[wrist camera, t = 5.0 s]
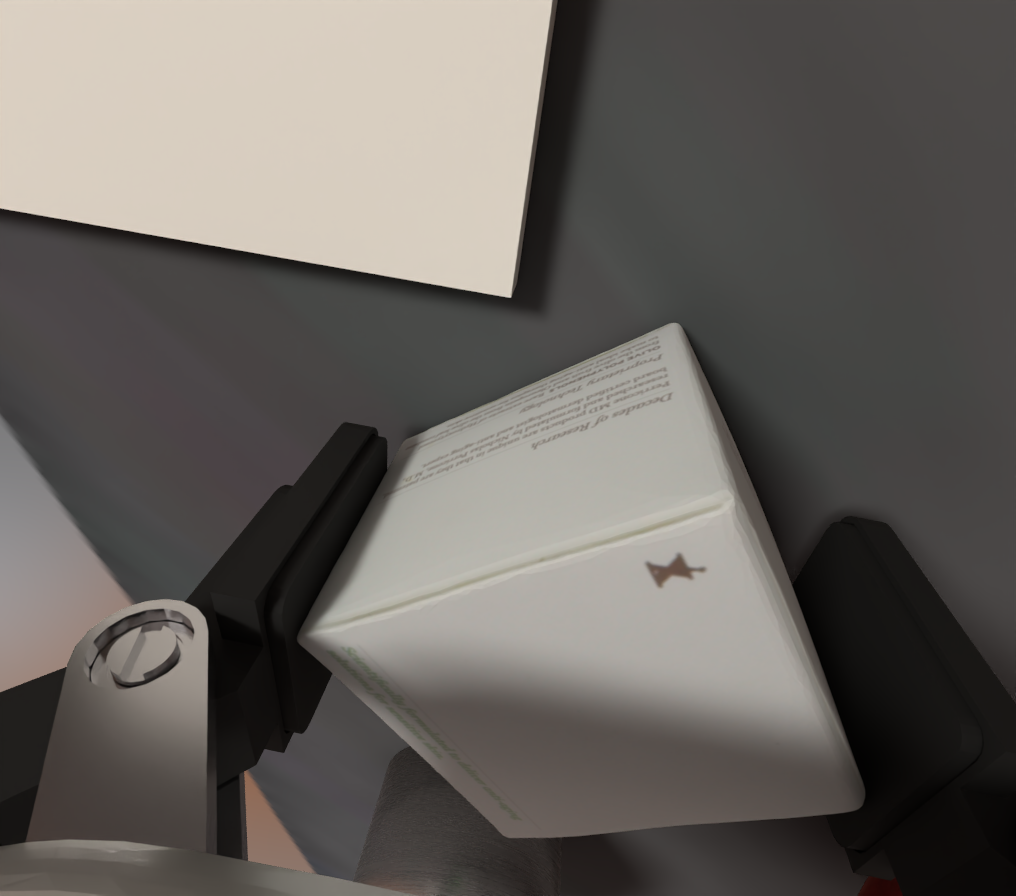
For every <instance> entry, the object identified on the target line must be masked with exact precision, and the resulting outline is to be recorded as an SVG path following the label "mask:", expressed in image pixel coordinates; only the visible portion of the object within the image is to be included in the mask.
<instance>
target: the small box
mask: <svg viewBox="0 0 1016 896" xmlns="http://www.w3.org/2000/svg"><path fill="white" fill-rule="evenodd" d="M297 641H298V643H299V644H300V645H301V646H302V647H303V648H305V649H306V650H307V651H308V652H309V653H310V654H312V655H313V656H314V657H315V658H316V659H317V660H318V661H320V662H321V663H322V664H323V665H324V666H325V667H326V668H327V669H329V670H330V671H331V672H332V673H333V674H334V675H335V676H336V677H337V678H338V679H339V680H340V681H341V682H342V683H344V684H345V685H346V686H347V687H348V688H349V689H350V690H351V691H352V692H353V693H354V694H355V695H356V696H358V697H359V698H360V699H361V700H362V701H363V702H364V703H365V704H366V705H367V706H368V707H369V708H370V709H372V710H373V711H374V712H375V713H376V714H377V715H378V716H379V717H380V718H381V719H382V720H383V721H384V722H385V723H386V724H387V725H388V726H390V727H391V728H392V729H393V730H394V731H395V732H396V733H397V734H398V735H399V736H400V737H401V738H402V739H404V740H405V741H406V742H407V743H408V744H409V745H410V746H411V747H412V748H413V749H414V750H415V751H416V752H417V753H418V754H419V755H420V756H421V757H422V758H424V759H425V760H426V761H427V762H428V763H429V764H430V765H431V766H432V767H433V768H434V769H435V770H436V771H437V772H438V773H439V774H441V775H442V776H443V777H444V778H445V779H446V780H447V781H448V782H449V783H450V784H451V785H452V786H453V787H454V788H455V789H456V790H457V791H458V792H459V793H460V794H461V795H462V796H463V797H465V798H466V799H467V800H468V801H469V802H470V803H471V804H472V805H473V806H474V807H475V808H476V809H477V810H478V811H479V812H480V813H481V814H482V815H483V816H484V817H485V818H486V819H487V820H488V821H489V822H491V823H492V824H493V825H494V826H495V827H496V829H497V830H498V831H499V832H500V833H501V834H502V835H503V836H505V837H507V838H554V837H571V836H585V835H595V834H605V833H613V832H623V831H630V830H638V829H648V828H659V827H669V826H680V825H693V824H708V823H724V822H739V821H753V820H767V819H784V818H796V817H807V816H817V815H827V814H837V813H845V812H851V811H854V810H857V809H859V808H860V807H861V806H863V803H864V799H865V787H864V784H863V781H862V778H861V775H860V773H859V770H858V767H857V765H856V762H855V759H854V756H853V754H852V751H851V748H850V745H849V742H848V739H847V736H846V734H845V731H844V728H843V725H842V722H841V719H840V716H839V714H838V711H837V708H836V705H835V702H834V699H833V697H832V694H831V691H830V688H829V685H828V683H827V680H826V677H825V674H824V671H823V669H822V666H821V663H820V660H819V657H818V655H817V652H816V649H815V646H814V644H813V641H812V638H811V635H810V633H809V630H808V627H807V624H806V622H805V619H804V616H803V613H802V611H801V608H800V605H799V603H798V600H797V598H796V595H795V592H794V590H793V587H792V584H791V582H790V579H789V576H788V574H787V571H786V568H785V566H784V563H783V561H782V558H781V555H780V553H779V550H778V548H777V545H776V542H775V540H774V537H773V535H772V532H771V529H770V527H769V524H768V522H767V519H766V517H765V514H764V512H763V510H762V507H761V505H760V502H759V500H758V497H757V495H756V492H755V490H754V487H753V485H752V483H751V480H750V478H749V475H748V473H747V471H746V468H745V466H744V463H743V461H742V459H741V456H740V454H739V451H738V449H737V447H736V444H735V442H734V440H733V438H732V435H731V433H730V431H729V428H728V426H727V424H726V422H725V419H724V417H723V415H722V413H721V410H720V408H719V406H718V404H717V401H716V399H715V397H714V395H713V393H712V390H711V388H710V386H709V384H708V382H707V380H706V377H705V375H704V373H703V371H702V369H701V366H700V364H699V362H698V360H697V358H696V356H695V353H694V351H693V349H692V347H691V345H690V343H689V341H688V338H687V336H686V334H685V332H684V330H683V328H682V327H681V326H680V324H678V323H670V324H667V325H665V326H663V327H661V328H659V329H656V330H654V331H652V332H650V333H647V334H645V335H643V336H641V337H639V338H636V339H634V340H632V341H629V342H627V343H625V344H622V345H620V346H618V347H616V348H614V349H611V350H609V351H606V352H604V353H601V354H599V355H597V356H595V357H592V358H590V359H588V360H586V361H583V362H581V363H579V364H576V365H574V366H572V367H570V368H567V369H565V370H563V371H560V372H558V373H556V374H553V375H551V376H549V377H547V378H544V379H542V380H540V381H537V382H535V383H533V384H531V385H528V386H526V387H524V388H522V389H519V390H517V391H515V392H513V393H511V394H509V395H506V396H504V397H502V398H500V399H498V400H495V401H493V402H490V403H488V404H486V405H483V406H481V407H479V408H476V409H474V410H472V411H469V412H467V413H465V414H462V415H460V416H458V417H456V418H453V419H451V420H448V421H446V422H444V423H442V424H440V425H437V426H435V427H433V428H430V429H428V430H427V431H425V432H422V433H420V434H418V435H416V436H413V437H411V438H408V439H406V440H405V441H404V442H403V443H402V445H401V447H400V449H399V450H398V452H397V454H396V456H395V458H394V459H393V461H392V463H391V465H390V466H389V468H388V470H387V472H386V474H385V475H384V477H383V479H382V481H381V483H380V485H379V486H378V488H377V490H376V492H375V494H374V496H373V497H372V499H371V501H370V503H369V505H368V506H367V508H366V510H365V512H364V513H363V515H362V517H361V519H360V521H359V523H358V525H357V527H356V528H355V530H354V532H353V533H352V535H351V537H350V539H349V541H348V543H347V545H346V547H345V548H344V550H343V552H342V553H341V555H340V557H339V559H338V560H337V562H336V564H335V566H334V567H333V569H332V571H331V573H330V575H329V577H328V579H327V580H326V582H325V584H324V586H323V588H322V589H321V591H320V593H319V595H318V597H317V598H316V600H315V602H314V604H313V606H312V608H311V609H310V611H309V613H308V616H307V618H306V619H305V621H304V623H303V625H302V627H301V629H300V631H299V633H298V636H297Z"/></svg>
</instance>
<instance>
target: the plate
mask: <svg viewBox="0 0 1016 896" xmlns="http://www.w3.org/2000/svg"><path fill="white" fill-rule="evenodd" d="M557 2H558V0H0V208H1V209H7V210H13V211H18V212H24V213H30V214H35V215H41V216H47V217H52V218H58V219H64V220H69V221H75V222H81V223H87V224H92V225H98V226H104V227H109V228H115V229H121V230H126V231H132V232H138V233H144V234H149V235H155V236H161V237H166V238H172V239H178V240H183V241H189V242H195V243H201V244H206V245H212V246H218V247H223V248H229V249H235V250H240V251H246V252H252V253H258V254H263V255H269V256H275V257H280V258H286V259H292V260H297V261H303V262H309V263H314V264H320V265H326V266H332V267H337V268H343V269H349V270H354V271H360V272H366V273H371V274H377V275H383V276H389V277H394V278H400V279H406V280H411V281H417V282H423V283H428V284H434V285H440V286H446V287H451V288H457V289H463V290H468V291H474V292H480V293H485V294H491V295H497V296H503V297H508V298H511V297H512V294H513V292H514V289H515V287H516V284H517V280H518V273H519V266H520V259H521V252H522V245H523V238H524V231H525V224H526V217H527V210H528V203H529V196H530V189H531V182H532V175H533V168H534V162H535V155H536V148H537V141H538V134H539V127H540V120H541V113H542V106H543V99H544V92H545V85H546V78H547V71H548V64H549V57H550V50H551V43H552V36H553V29H554V23H555V16H556V9H557Z"/></svg>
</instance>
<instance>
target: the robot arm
mask: <svg viewBox="0 0 1016 896" xmlns="http://www.w3.org/2000/svg"><path fill="white" fill-rule="evenodd" d="M386 472H387V440H386V438H384V437H379V436H378V431H377V429H376V428H374V427H369V426H364V425H358V424H353V423H347V422H345V423H343V424H342V425H341V426H340V427H339V428H338V429H337V431H336V432H335V433H334V435H333V436H332V437H331V438H330V440H329V441H328V442H327V443H326V445H325V446H324V447H323V449H322V450H321V451H320V452H319V454H318V455H317V456H316V458H315V459H314V460H313V461H312V463H311V464H310V465H309V466H308V468H307V469H306V470H305V472H304V473H303V474H302V475H301V477H300V478H299V479H298V481H297V482H296V483H295V484H294V486H290V485H284V486H281V487H280V488H279V489H277V490H276V491H275V492H274V494H273V495H272V496H271V497H270V498H269V500H268V501H267V502H266V503H265V505H264V506H263V507H262V508H261V509H260V511H259V512H258V513H257V514H256V516H255V517H254V518H253V519H252V520H251V522H250V523H249V524H248V525H247V527H246V528H245V529H244V530H243V531H242V533H241V534H240V535H239V536H238V538H237V539H236V540H235V541H234V542H233V544H232V545H231V546H230V547H229V548H228V550H227V551H226V552H225V553H224V555H223V556H222V557H221V558H220V559H219V561H218V562H217V563H216V564H215V566H214V567H213V568H212V569H211V570H210V572H209V573H208V574H207V575H206V577H205V578H204V579H203V580H202V581H201V583H200V584H199V585H198V586H197V588H196V589H195V590H194V591H193V592H192V594H191V595H190V596H189V597H188V599H187V600H186V601H185V602H183V601H176V600H168V599H164V600H154V601H146V602H142V603H139V604H136V605H133V606H129V607H126V608H124V609H122V610H120V611H118V612H116V613H114V614H112V615H110V616H108V617H106V618H105V619H104V620H102V621H101V622H100V623H98V624H97V625H96V626H94V627H93V628H92V629H91V630H89V631H88V632H87V633H86V635H85V636H84V637H83V638H82V639H81V640H80V642H79V643H78V644H77V645H76V646H75V648H74V650H73V653H72V655H71V657H70V659H69V662H68V664H67V667H65V668H63V669H60V670H57V671H55V672H52V673H49V674H47V675H44V676H42V677H39V678H37V679H34V680H31V681H29V682H26V683H23V684H21V685H18V686H16V687H13V688H10V689H8V690H5V691H3V692H0V896H417V895H413V894H408V893H403V892H399V891H394V890H389V889H385V888H380V887H375V886H371V885H366V884H361V883H356V882H352V881H347V880H342V879H338V878H333V877H328V876H323V875H318V874H313V873H307V872H302V871H297V870H292V869H286V868H281V867H276V866H271V865H266V864H261V863H256V862H250V861H248V854H247V832H246V831H247V830H246V829H247V828H246V805H245V780H244V771H246V770H248V769H250V768H251V767H253V766H255V765H256V764H257V762H258V760H259V758H260V756H261V754H262V752H263V750H264V749H267V750H272V751H277V752H282V753H284V752H285V749H286V747H287V745H288V743H289V741H290V739H291V737H292V735H293V733H294V732H295V733H300V734H302V733H304V732H305V730H306V729H307V727H308V725H309V723H310V721H311V719H312V717H313V715H314V713H315V710H316V708H317V706H318V704H319V702H320V699H321V697H322V695H323V693H324V691H325V688H326V686H327V684H328V682H329V680H330V677H331V675H332V672H331V671H330V670H329V669H327V668H326V667H325V666H324V665H323V664H322V663H321V662H320V661H318V660H317V659H316V658H315V657H314V656H313V655H312V654H310V653H309V652H308V651H307V650H306V649H305V648H303V647H302V646H301V645H300V644H299V643H298V641H297V636H298V633H299V631H300V629H301V627H302V625H303V623H304V621H305V619H306V618H307V616H308V613H309V611H310V609H311V608H312V606H313V604H314V602H315V600H316V598H317V597H318V595H319V593H320V591H321V589H322V588H323V586H324V584H325V582H326V580H327V579H328V577H329V575H330V573H331V571H332V569H333V567H334V566H335V564H336V562H337V560H338V559H339V557H340V555H341V553H342V552H343V550H344V548H345V547H346V545H347V543H348V541H349V539H350V537H351V535H352V533H353V532H354V530H355V528H356V527H357V525H358V523H359V521H360V519H361V517H362V515H363V513H364V512H365V510H366V508H367V506H368V505H369V503H370V501H371V499H372V497H373V496H374V494H375V492H376V490H377V488H378V486H379V485H380V483H381V481H382V479H383V477H384V475H385V474H386ZM792 587H793V590H794V592H795V595H796V598H797V600H798V603H799V605H800V608H801V611H802V613H803V616H804V619H805V622H806V624H807V627H808V630H809V633H810V635H811V638H812V641H813V644H814V646H815V649H816V652H817V655H818V657H819V660H820V663H821V666H822V669H823V671H824V674H825V677H826V680H827V683H828V685H829V688H830V691H831V694H832V697H833V699H834V702H835V705H836V708H837V711H838V714H839V716H840V719H841V722H842V725H843V728H844V731H845V734H846V736H847V739H848V742H849V745H850V748H851V751H852V754H853V756H854V759H855V762H856V765H857V767H858V770H859V773H860V775H861V778H862V781H863V784H864V787H865V799H864V803H863V806H861V807H860V808H859V809H857V810H854V811H851V812H845V813H837V814H827V815H826V816H827V819H828V822H829V825H830V828H831V831H832V833H833V836H834V838H835V839H836V841H837V842H838V843H839V844H840V845H841V846H842V847H845V850H846V853H847V855H848V858H849V861H850V864H851V867H852V870H853V873H857V874H861V875H866V876H871V877H875V878H880V879H885V880H890V881H891V880H892V879H894V878H895V877H896V880H897V882H898V885H899V887H900V890H901V892H902V895H903V896H1016V704H1015V702H1014V701H1013V700H1012V698H1011V697H1010V695H1009V694H1008V693H1007V691H1006V690H1005V688H1004V687H1003V685H1002V684H1001V683H1000V681H999V680H998V678H997V677H996V676H995V674H994V673H993V671H992V670H991V669H990V667H989V666H988V664H987V663H986V661H985V660H984V659H983V657H982V656H981V654H980V653H979V652H978V650H977V649H976V647H975V646H974V644H973V643H972V642H971V640H970V639H969V637H968V636H967V635H966V633H965V632H964V630H963V629H962V628H961V626H960V625H959V623H958V622H957V620H956V619H955V618H954V616H953V615H952V613H951V612H950V611H949V609H948V608H947V606H946V605H945V603H944V602H943V601H942V599H941V598H940V596H939V595H938V594H937V592H936V591H935V589H934V588H933V587H932V585H931V584H930V582H929V581H928V579H927V578H926V577H925V575H924V574H923V572H922V571H921V570H920V568H919V567H918V565H917V564H916V563H915V561H914V560H913V558H912V557H911V555H910V554H909V553H908V551H907V550H906V548H905V547H904V546H903V544H902V543H901V541H900V540H899V538H898V537H897V536H896V534H895V533H894V531H893V530H892V529H891V527H890V526H888V525H887V524H886V523H883V522H879V521H873V520H868V519H863V518H857V517H852V516H850V517H845V518H844V519H842V520H841V521H840V522H835V523H833V524H831V525H830V526H829V528H828V529H827V530H826V532H825V534H824V535H823V537H822V539H821V540H820V542H819V543H818V545H817V547H816V548H815V550H814V551H813V553H812V555H811V556H810V558H809V559H808V561H807V563H806V564H805V566H804V567H803V569H802V571H801V572H800V574H799V575H798V577H797V579H796V580H795V582H794V583H793V585H792Z"/></svg>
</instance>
